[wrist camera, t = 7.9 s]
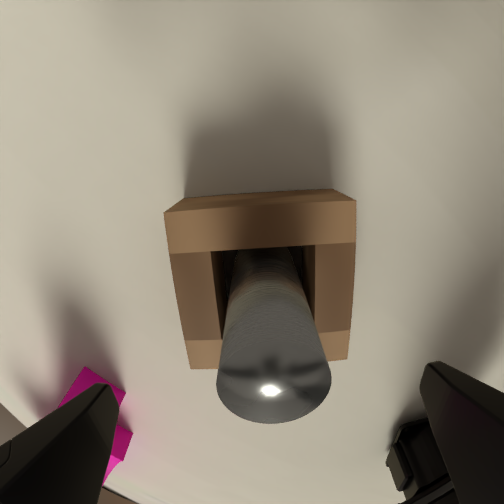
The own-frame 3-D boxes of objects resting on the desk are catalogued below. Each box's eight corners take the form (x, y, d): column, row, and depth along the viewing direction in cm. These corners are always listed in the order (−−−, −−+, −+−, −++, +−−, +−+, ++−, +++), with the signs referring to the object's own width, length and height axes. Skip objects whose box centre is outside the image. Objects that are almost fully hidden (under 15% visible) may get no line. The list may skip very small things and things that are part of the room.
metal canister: (291, 234, 17) (335, 335, 8) (292, 288, 18) (326, 418, 9) (232, 237, 17) (208, 344, 8) (237, 291, 18) (223, 425, 9)
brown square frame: (333, 189, 16) (356, 200, 13) (330, 320, 19) (347, 359, 15) (183, 198, 17) (163, 212, 13) (201, 329, 19) (190, 369, 15)
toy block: (102, 467, 25) (84, 518, 18) (54, 438, 24) (28, 486, 17) (154, 407, 22) (130, 482, 14) (85, 364, 20) (42, 432, 13)
